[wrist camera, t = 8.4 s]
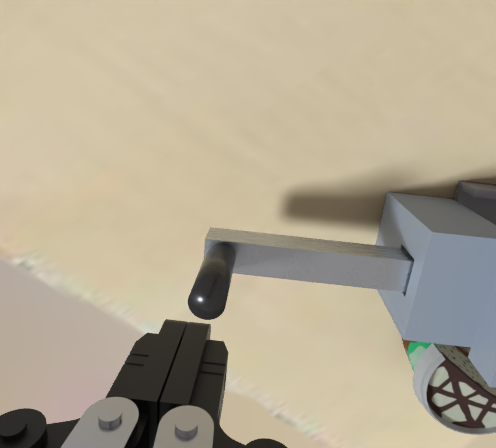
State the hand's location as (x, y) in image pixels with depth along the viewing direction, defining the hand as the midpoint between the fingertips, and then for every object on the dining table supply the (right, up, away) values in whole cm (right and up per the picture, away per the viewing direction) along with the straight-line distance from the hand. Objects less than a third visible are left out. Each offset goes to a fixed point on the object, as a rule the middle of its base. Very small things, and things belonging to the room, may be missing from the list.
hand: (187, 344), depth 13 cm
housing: (+20, +2, +31) cm, 37 cm away
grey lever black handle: (+11, +1, +24) cm, 26 cm away
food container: (+24, -11, +35) cm, 44 cm away
